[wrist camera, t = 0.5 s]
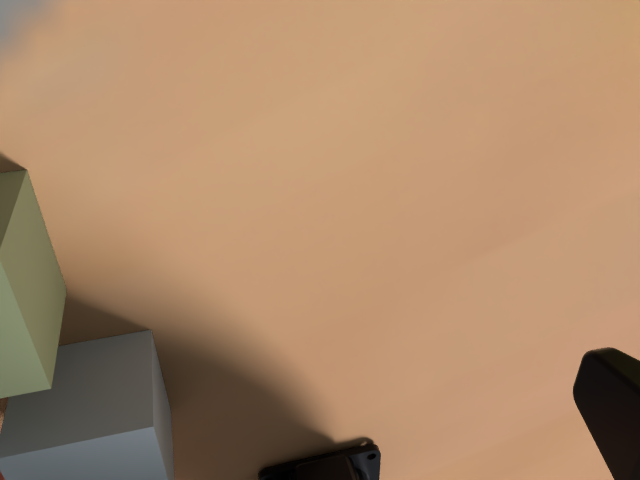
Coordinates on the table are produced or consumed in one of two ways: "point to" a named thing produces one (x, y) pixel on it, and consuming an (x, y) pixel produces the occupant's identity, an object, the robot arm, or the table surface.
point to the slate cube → (93, 417)
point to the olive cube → (27, 291)
